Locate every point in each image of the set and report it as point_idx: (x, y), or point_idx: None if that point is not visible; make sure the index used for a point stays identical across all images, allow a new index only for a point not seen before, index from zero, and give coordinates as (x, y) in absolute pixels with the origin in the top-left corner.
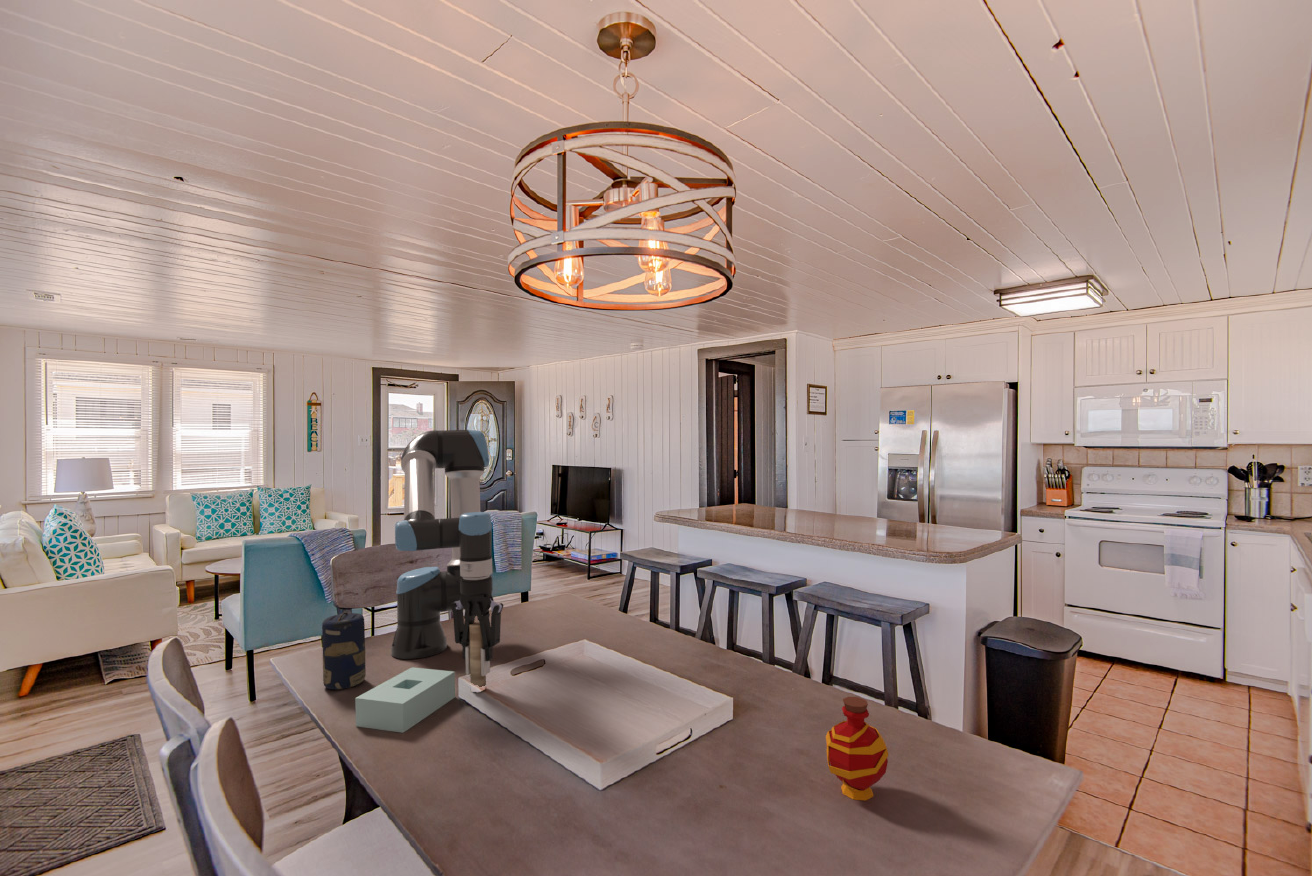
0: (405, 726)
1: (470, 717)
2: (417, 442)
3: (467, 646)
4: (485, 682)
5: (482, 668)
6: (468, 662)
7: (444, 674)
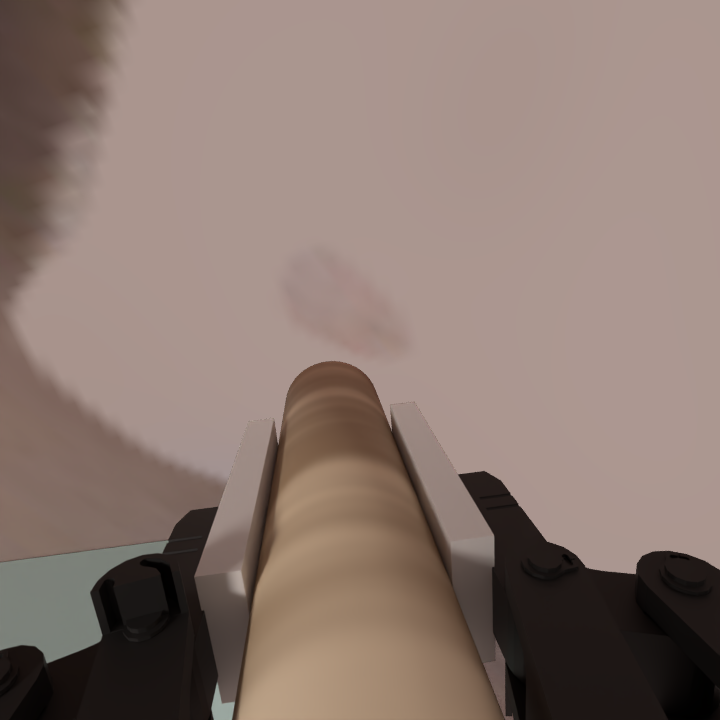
0: None
1: (498, 650)
2: None
3: (224, 674)
4: (381, 405)
5: None
6: None
7: (222, 713)
